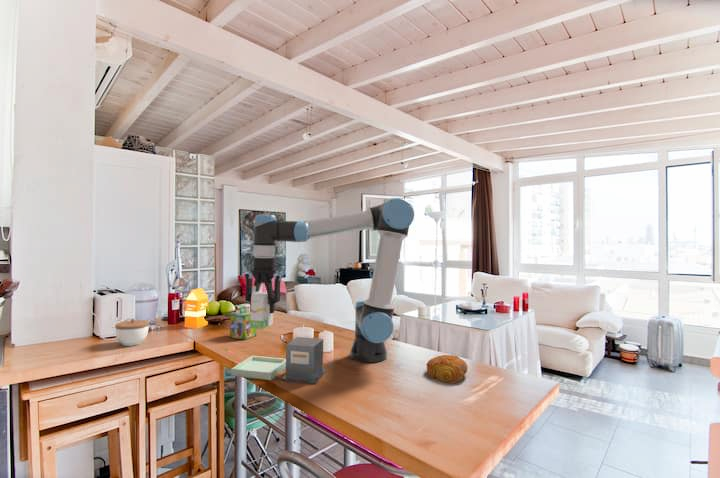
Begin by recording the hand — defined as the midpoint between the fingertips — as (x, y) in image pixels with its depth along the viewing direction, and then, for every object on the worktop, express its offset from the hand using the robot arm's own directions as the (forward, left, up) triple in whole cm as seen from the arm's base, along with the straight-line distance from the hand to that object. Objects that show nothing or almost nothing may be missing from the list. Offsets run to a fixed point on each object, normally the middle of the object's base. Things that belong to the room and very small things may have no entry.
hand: (262, 321), depth 130 cm
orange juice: (+64, -52, -18) cm, 84 cm away
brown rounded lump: (-66, -14, -18) cm, 70 cm away
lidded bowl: (+69, -15, -18) cm, 73 cm away
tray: (0, 0, -18) cm, 18 cm away
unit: (-17, +1, -18) cm, 25 cm away
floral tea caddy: (+29, -39, -18) cm, 52 cm away
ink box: (0, 0, -2) cm, 2 cm away
